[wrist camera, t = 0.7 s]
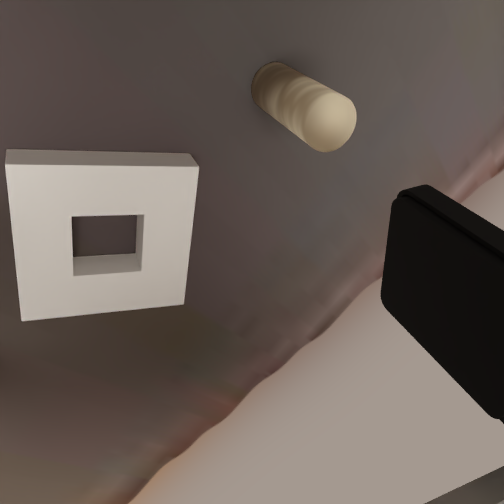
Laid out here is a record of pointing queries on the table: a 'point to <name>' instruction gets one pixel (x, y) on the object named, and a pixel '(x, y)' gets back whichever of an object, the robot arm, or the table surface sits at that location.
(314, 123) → the dowel
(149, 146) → the table surface
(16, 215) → the socket
